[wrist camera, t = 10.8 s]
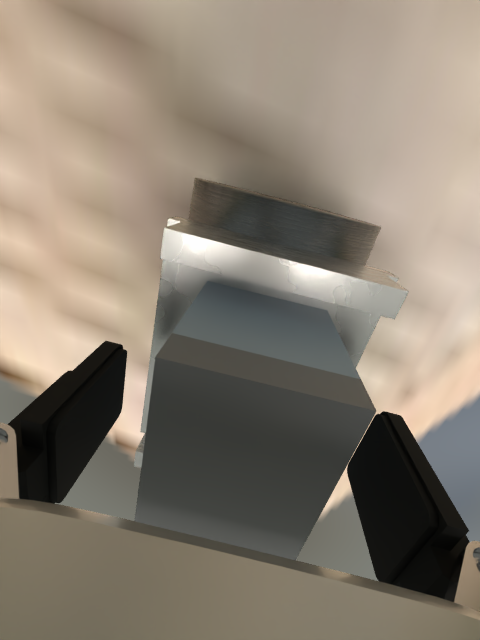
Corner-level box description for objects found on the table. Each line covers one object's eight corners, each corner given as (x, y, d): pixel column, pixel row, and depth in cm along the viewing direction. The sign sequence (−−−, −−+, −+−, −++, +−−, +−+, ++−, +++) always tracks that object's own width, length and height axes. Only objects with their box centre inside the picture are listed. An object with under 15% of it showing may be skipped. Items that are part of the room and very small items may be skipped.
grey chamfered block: (207, 280, 12) (155, 356, 6) (327, 310, 12) (376, 410, 7) (182, 412, 15) (131, 541, 9) (279, 435, 15) (285, 578, 9)
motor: (213, 181, 21) (137, 167, 9) (352, 217, 21) (464, 253, 9) (182, 350, 26) (111, 482, 14) (291, 378, 26) (309, 531, 15)
